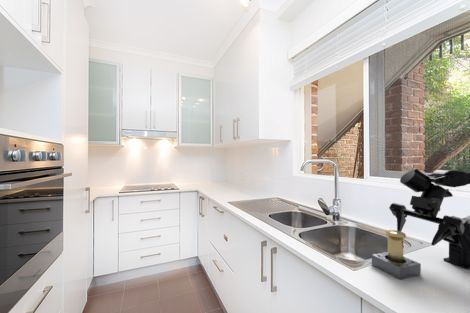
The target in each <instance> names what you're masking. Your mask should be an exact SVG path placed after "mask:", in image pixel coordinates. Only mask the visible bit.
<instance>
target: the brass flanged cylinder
mask: <svg viewBox="0 0 470 313" xmlns="http://www.w3.org/2000/svg"><path fill="white" fill-rule="evenodd" d="M384 233H385V236H387V252H388V260H390V261H392V262H396V263H403V256H404V239H406V238H407V236H406V233H405V232H403V231H401V232H400V231H397V229H396V230H394V229H386V230H385V232H384Z"/></svg>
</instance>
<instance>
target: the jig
mask: <svg viewBox="0 0 470 313" xmlns="http://www.w3.org/2000/svg"><path fill="white" fill-rule="evenodd" d="M371 266H373V267H375V268H376V269H378V270H381V271H382V272H384V273H387V275H390V276H392V277H393V278H396V279H397V280H399V281H401V280H405V279H409V278H414V277H419V276H421V274H422V272H421V271H422V270H421V269H422V264H421V263H420V262H419V261H415V260H413V259H411V258H408V257H405V256H404V255H403V263H396V262H392V261H390V260H388V251H386V252H380V253H379V252H378V253H373V254H371Z"/></svg>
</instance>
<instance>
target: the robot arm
mask: <svg viewBox="0 0 470 313" xmlns="http://www.w3.org/2000/svg"><path fill="white" fill-rule="evenodd" d="M399 183H400V184H403V185H404V186H405V187H407V188H408V189H410V190H411V191H413V192H414V193H421V194H420V196H419V195H418V196H417V195H412V196H411V199H410V203H409V205H410V206H411V209H412V210H410V209H407V208H406V205H404V204H402V203H401V204H400V203H396V202H392V203H391V204H390V205H389V207H388V208H389V210H390V211H391V213H392V215H393V216H395V218H396V231H400V232H403V231H402V230H403V228H404V226H405V224H406V222H407V219H406V218H407V217H411V218H416V219H419V220H424V221H426V222H430V223H431V222H432V223H435V224H438V227H437V231H436V233H435V235H434V236H433V237H432V238H433V239H432V241H431V242H430V243H431V246H435V245H437V244H439V243H440V242H441V241H445V242H447V243H448V257H444V258H443V261H445V262H448V263H451V264H453V265H456V266H458V267H461V268H464V269H470V215H467V216H465V217H458V216H455V215H451V216H450V215H443V217H442V218H441V217H437V216H438V214H439V212H440V211H441V206H442V203H443V201H444V199H445V198H452V197H453V193H452V192H450V190H449V188H458V187H464V186H468V185H470V172H466V171H461V170H451V169H436V170H434V171H433V173H430V174H424V173H423V172H421V170H419V169H417V168H412V169H411V170H410V171H408V172H406V173H404V174H403V175H402V176H401V177H400V180H399ZM444 187H449V188H444ZM413 210H414V211H413Z"/></svg>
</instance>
